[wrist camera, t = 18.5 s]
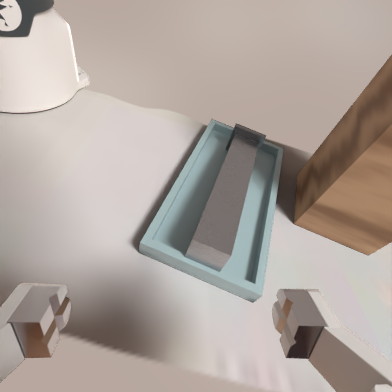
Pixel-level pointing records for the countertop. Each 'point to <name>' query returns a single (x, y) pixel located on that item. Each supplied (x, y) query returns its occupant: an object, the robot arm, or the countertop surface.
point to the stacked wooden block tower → (353, 174)
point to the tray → (194, 206)
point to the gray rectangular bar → (226, 201)
